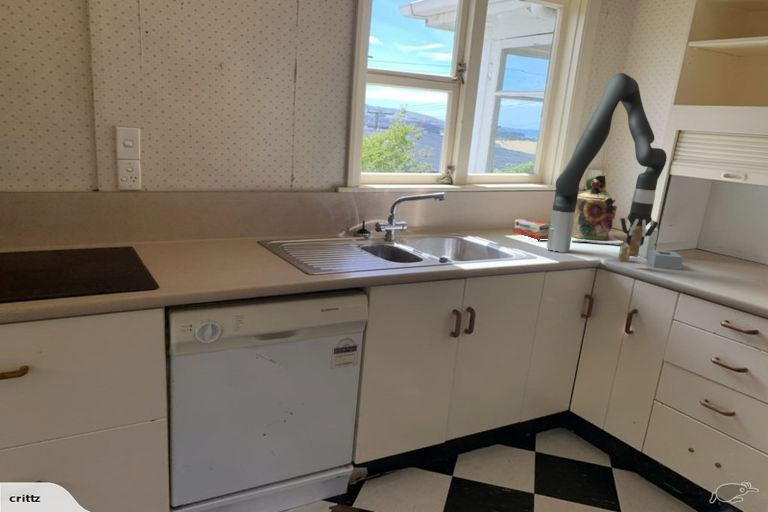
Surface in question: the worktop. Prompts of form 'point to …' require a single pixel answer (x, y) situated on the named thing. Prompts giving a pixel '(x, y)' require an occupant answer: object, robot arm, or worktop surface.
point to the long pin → (635, 242)
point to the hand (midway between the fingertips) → (634, 245)
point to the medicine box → (532, 228)
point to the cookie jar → (594, 214)
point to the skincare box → (648, 244)
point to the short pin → (623, 254)
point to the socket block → (664, 259)
